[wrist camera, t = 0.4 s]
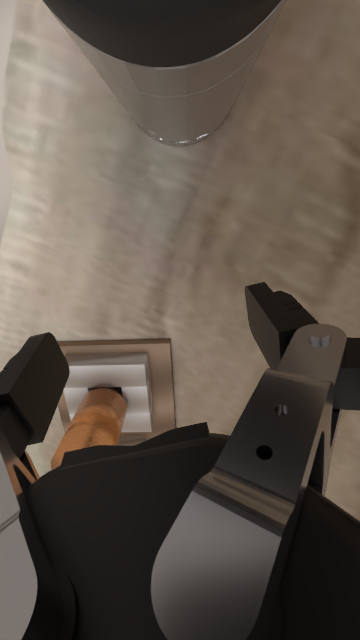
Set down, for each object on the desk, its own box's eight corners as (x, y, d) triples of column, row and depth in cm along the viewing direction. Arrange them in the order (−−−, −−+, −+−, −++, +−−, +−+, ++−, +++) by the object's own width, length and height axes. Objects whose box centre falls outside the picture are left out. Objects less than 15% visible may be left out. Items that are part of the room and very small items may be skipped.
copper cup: (88, 369, 33) (45, 447, 23) (130, 368, 33) (105, 447, 23) (95, 403, 35) (57, 489, 25) (134, 402, 35) (113, 489, 25)
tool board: (46, 342, 33) (31, 358, 30) (170, 339, 32) (168, 355, 29) (81, 478, 42) (72, 502, 39) (179, 477, 41) (178, 501, 38)
